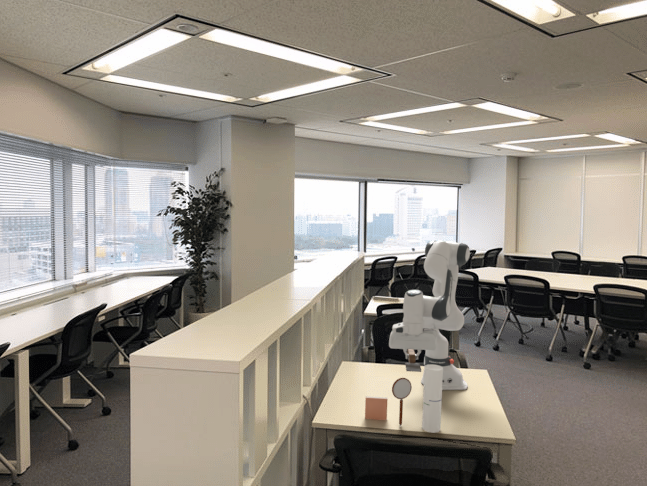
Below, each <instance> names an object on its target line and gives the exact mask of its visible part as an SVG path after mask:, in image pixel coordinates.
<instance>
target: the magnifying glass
mask: <svg viewBox="0 0 647 486" xmlns="http://www.w3.org/2000/svg"><path fill="white" fill-rule="evenodd" d="M391 392H392V395H393V396H394V398H396V399H398V400H399V414H398V415H399V417H398V421H399V422H398V424H399V427H400V426H401V427H402V425H403V409H404V408H403V407H404V406H403V405H404V399H406V398H407V397H409V395H410V394H411V392H412V383H411V381H410V380H409V379H408V378H406V377H400V378H398V379H396V380H395V381H394V382H393V384H392V387H391Z"/></svg>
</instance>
